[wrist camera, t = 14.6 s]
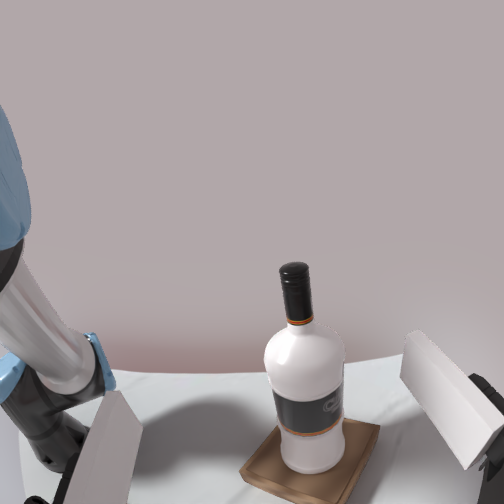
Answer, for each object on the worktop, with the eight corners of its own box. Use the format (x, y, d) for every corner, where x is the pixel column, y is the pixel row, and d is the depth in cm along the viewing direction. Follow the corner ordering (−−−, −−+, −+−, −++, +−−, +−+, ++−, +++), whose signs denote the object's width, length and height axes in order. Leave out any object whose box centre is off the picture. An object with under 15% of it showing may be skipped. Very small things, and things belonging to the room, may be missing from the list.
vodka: (286, 429, 39) (253, 252, 30) (344, 427, 36) (342, 243, 28) (277, 475, 30) (226, 293, 21) (343, 475, 28) (352, 283, 19)
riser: (244, 481, 33) (238, 470, 32) (294, 417, 45) (292, 403, 44) (337, 517, 24) (338, 509, 23) (377, 438, 36) (380, 424, 35)
